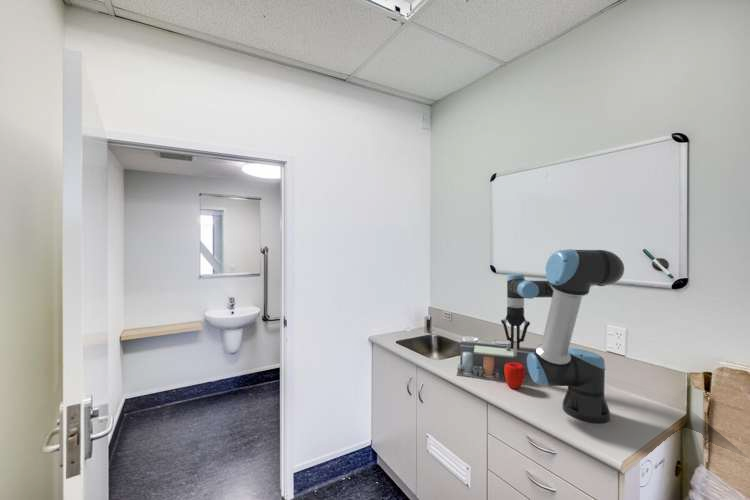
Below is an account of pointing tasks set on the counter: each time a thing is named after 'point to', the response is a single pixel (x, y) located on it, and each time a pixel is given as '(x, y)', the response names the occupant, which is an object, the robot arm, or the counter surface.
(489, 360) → the peg
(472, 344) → the housing
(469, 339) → the cup
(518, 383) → the apple
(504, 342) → the disposable coffee cup
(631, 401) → the counter surface
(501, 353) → the lid
